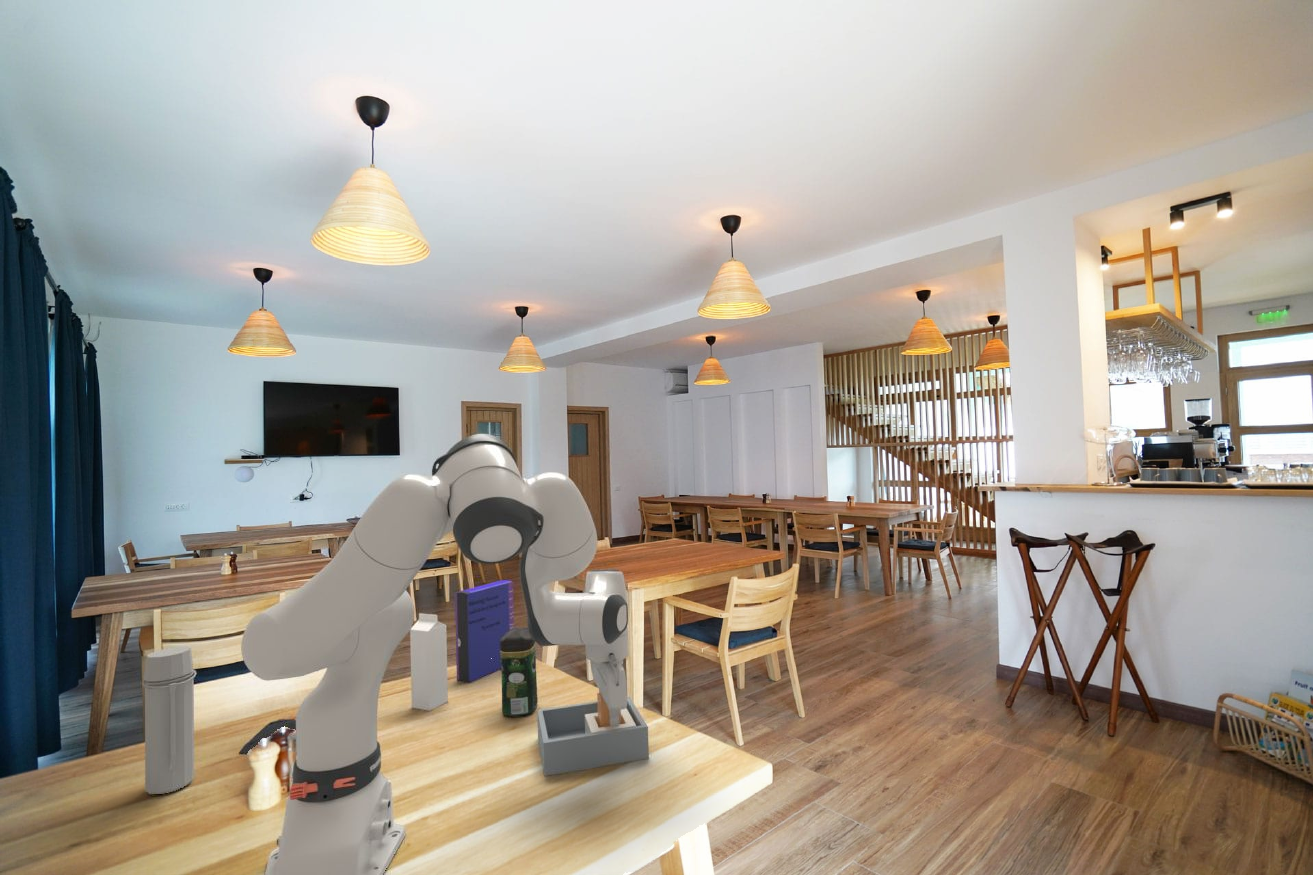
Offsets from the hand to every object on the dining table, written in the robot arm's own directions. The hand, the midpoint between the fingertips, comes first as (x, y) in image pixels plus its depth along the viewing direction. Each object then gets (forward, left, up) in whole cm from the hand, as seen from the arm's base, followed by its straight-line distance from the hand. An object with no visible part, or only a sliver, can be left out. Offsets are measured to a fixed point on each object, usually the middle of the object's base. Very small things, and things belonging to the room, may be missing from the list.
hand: (609, 715), depth 123 cm
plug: (0, 0, -5) cm, 5 cm away
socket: (0, 0, -5) cm, 5 cm away
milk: (+36, +38, -6) cm, 53 cm away
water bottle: (+11, +81, -6) cm, 82 cm away
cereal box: (+56, +25, -6) cm, 61 cm away
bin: (0, +4, -6) cm, 7 cm away
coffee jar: (+25, +17, -6) cm, 31 cm away
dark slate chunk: (+26, +62, -7) cm, 68 cm away
